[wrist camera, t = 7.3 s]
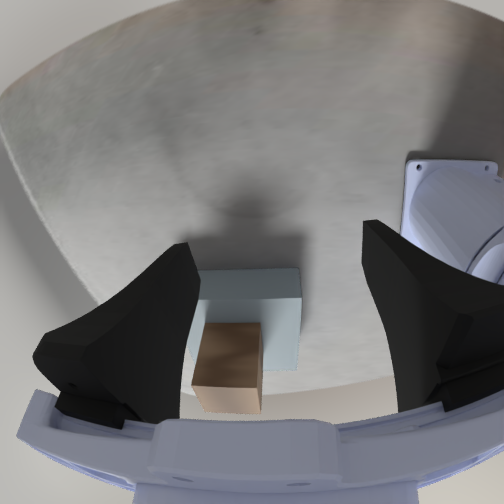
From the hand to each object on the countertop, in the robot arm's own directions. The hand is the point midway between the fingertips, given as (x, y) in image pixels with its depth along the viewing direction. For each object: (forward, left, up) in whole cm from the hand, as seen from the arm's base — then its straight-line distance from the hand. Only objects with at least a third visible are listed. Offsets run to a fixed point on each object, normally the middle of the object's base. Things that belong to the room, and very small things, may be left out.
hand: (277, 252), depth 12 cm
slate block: (+4, +13, -10) cm, 17 cm away
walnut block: (+5, +13, -6) cm, 15 cm away
